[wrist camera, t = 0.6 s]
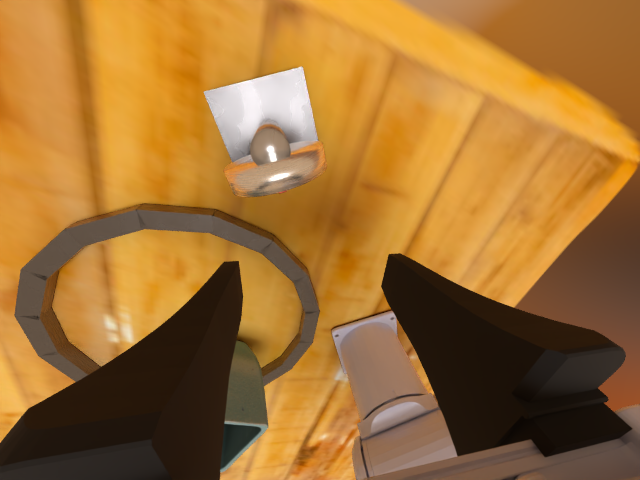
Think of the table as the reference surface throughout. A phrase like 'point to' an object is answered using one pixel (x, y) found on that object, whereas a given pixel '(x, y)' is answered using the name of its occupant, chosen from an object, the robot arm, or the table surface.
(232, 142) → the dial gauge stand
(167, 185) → the table surface
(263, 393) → the flower pot
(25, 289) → the centring ring
